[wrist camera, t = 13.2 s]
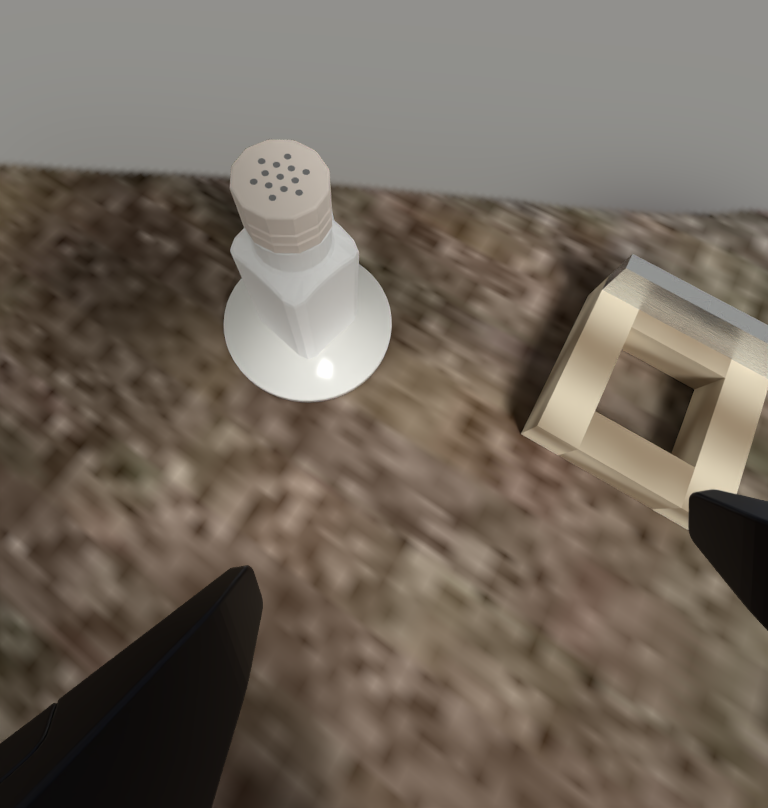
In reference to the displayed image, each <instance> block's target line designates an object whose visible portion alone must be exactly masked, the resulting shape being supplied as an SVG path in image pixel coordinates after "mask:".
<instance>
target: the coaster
mask: <svg viewBox="0 0 768 808" xmlns="http://www.w3.org/2000/svg"><path fill="white" fill-rule="evenodd" d="M391 328H392V317H391V311H390V306H389V303H388V300H387V297H386V295H385V293H384V291H383V289H382V288H381V286H380V284H379V283H378V281H377V280H376V279H375V278H374V277H373V276H372V274H371V273H369V272H368V271H367V270H366V269H365V268H364V267H362V266H361V265H360V264H359V271H358V301H357V315H356V317H355V320H354V321H353V322H352V323H351V324H350V325H349V326H348V327H347V328H346V329H345V330H344V331H342V332H341V333H340V334H339V335H338V336H337V337H336V338H335V339H334V340H333V341H332V342H331V343H330V344H329V345H328V346H326V347H325V348H324V349H323V350H322V351H321V352H320V353H319V354H318V355H317V356H315V357H313V358H311V359H309V360H308V359H306V358H304V357H301V356H299V355H298V354H297V353H296V352H295V351H294V350H292V349H291V348H290V347H289V346H288V345H287V344H286V343H285V342H284V341H283V340H282V339H280V338H279V337H278V336H277V335H276V334H275V333H274V332H273V331H272V330H271V329H269V328H268V327H267V326H266V325H265V324H264V323H263V322H262V321H261V319H260V317H259V315H258V312H257V310H256V308H255V306H254V304H253V301H252V299H251V297H250V295H249V292H248V290H247V288H246V286H245V284H244V281H243V279H242V278H241V279H240V281H239V282H238V283H237V284H236V286H235V288H234V289H233V291H232V293H231V295H230V297H229V300H228V302H227V305H226V309H225V314H224V335H225V340H226V344H227V347H228V350H229V352H230V354H231V356H232V358H233V360H234V362H235V363H236V364H237V366H238V367H239V369H240V370H241V371H242V373H243V374H244V375H245V376H246V377H247V378H248V379H249V380H250V381H251V382H252V383H253V384H255V385H256V386H257V387H259V388H260V389H262V390H264V391H265V392H267V393H269V394H271V395H274V396H276V397H278V398H282V399H285V400H289V401H295V402H321V401H327V400H331V399H335V398H338V397H340V396H343V395H345V394H347V393H349V392H351V391H353V390H355V389H356V388H358V387H359V386H360V385H362V384H363V383H364V382H365V381H366V380H368V379H369V378H370V377H371V376H372V374H373V373H374V372H375V371H376V370H377V368H378V367H379V365H380V364H381V362H382V360H383V358H384V356H385V354H386V351H387V348H388V345H389V341H390V336H391Z"/></svg>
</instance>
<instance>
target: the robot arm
mask: <svg viewBox="0 0 768 808" xmlns="http://www.w3.org/2000/svg"><path fill="white" fill-rule="evenodd" d="M688 528H689V534H690V536H691V538H692V540H693V542H694V543H695V545H696V546H697V547H698V548H699V549H700V551H701V552H702V553H703V554H704V556H705V557H706V558H707V559H708V561H709V562H710V563H711V564H712V566H713V567H714V568H715V569H716V571H717V572H718V573H719V574H720V576H721V577H722V578H723V579H724V581H725V582H726V583H727V584H728V585H729V587H730V588H731V589H732V590H733V592H734V593H735V594H736V595H737V597H738V598H739V599H740V600H741V602H742V603H743V604H744V605H745V606H746V607H747V609H748V610H749V611H750V612H751V613H752V614H753V615H754V616H755V618H756V619H757V620H758V621H759V622H760V623H761V624H762V625H763V626H764V627H765V628H766V629H767V630H768V501H764V500H760V499H755V498H751V497H747V496H742V495H738V494H734V493H729V492H725V491H721V490H716V489H710V490H704V491H698V492H694V493H692V494H691V495H690V497H689V512H688ZM262 609H263V600H262V595H261V592H260V589H259V586H258V583H257V580H256V577H255V574H254V571H253V569H252V568H251V567H250V566H248V565H246V566H240V567H234V568H230V569H229V570H227V571H226V572H225V573H223V574H222V575H221V576H219V577H218V578H217V579H216V580H214V581H213V582H212V583H210V584H209V585H208V586H206V587H205V588H204V589H202V590H201V591H200V592H199V593H197V594H196V595H195V596H193V597H192V598H191V599H189V600H188V601H187V602H185V603H184V604H183V605H182V606H180V607H179V608H178V609H176V610H175V611H174V612H172V613H171V614H170V615H168V616H167V617H166V618H165V619H163V620H162V621H161V622H159V623H158V624H157V625H155V626H154V627H153V628H151V629H150V630H149V631H148V632H146V633H145V634H144V635H142V636H141V637H140V638H138V639H137V640H136V641H134V642H133V643H132V644H131V645H129V646H128V647H127V648H125V649H124V650H123V651H121V652H120V653H119V654H117V655H116V656H115V657H114V658H112V659H111V660H110V661H108V662H107V663H106V664H104V665H103V666H102V667H100V668H99V669H98V670H97V671H95V672H94V673H93V674H91V675H90V676H89V677H87V678H86V679H85V680H83V681H82V682H81V683H80V684H78V685H77V686H76V687H74V688H73V689H72V690H70V691H69V692H68V693H66V694H65V695H64V696H63V697H61V698H60V699H59V700H58V703H57V704H56V703H54V704H52V705H51V706H49V707H48V708H47V709H45V710H44V711H43V712H41V713H40V714H39V715H38V716H36V717H35V718H34V719H32V720H31V721H30V722H28V723H27V724H26V725H24V726H23V727H22V728H20V729H19V730H18V731H16V732H15V733H14V734H12V735H11V736H10V737H8V738H7V739H6V740H4V741H3V742H2V743H0V808H212V804H213V801H214V798H215V794H216V791H217V787H218V784H219V781H220V777H221V774H222V771H223V767H224V764H225V760H226V757H227V754H228V750H229V747H230V744H231V740H232V737H233V734H234V730H235V727H236V723H237V720H238V717H239V713H240V710H241V707H242V703H243V700H244V696H245V693H246V689H247V685H248V681H249V676H250V672H251V667H252V661H253V656H254V651H255V646H256V641H257V635H258V630H259V625H260V620H261V615H262Z"/></svg>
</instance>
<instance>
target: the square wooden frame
mask: <svg viewBox="0 0 768 808" xmlns="http://www.w3.org/2000/svg"><path fill="white" fill-rule="evenodd" d="M621 350H623V351H625V352H627V353H629V354H631V355H632V356H634V357H636V358H638V359H640V360H642V361H643V362H645V363H647V364H649V365H651V366H653V367H654V368H656V369H658V370H660V371H662V372H664V373H665V374H667V375H669V376H671V377H673V378H675V379H676V380H678V381H680V382H682V383H684V384H685V385H687V386H689V387H691V388H693V389H694V392H693V395H692V398H691V401H690V403H689V406H688V409H687V412H686V414H685V417H684V420H683V423H682V426H681V428H680V431H679V434H678V437H677V439H676V442H675V445H674V448H673V451H672V453H671V454H670V453H669V452H667V451H665V450H663V449H662V448H660V447H658V446H656V445H654V444H653V443H651V442H649V441H647V440H646V439H644V438H642V437H640V436H638V435H637V434H635V433H633V432H631V431H630V430H628V429H626V428H624V427H622V426H621V425H619V424H617V423H615V422H614V421H612V420H610V419H608V418H606V417H605V416H603V415H601V414H599V413H597V412H596V411H595V410H596V408H597V405H598V403H599V401H600V398H601V396H602V394H603V391H604V389H605V387H606V385H607V382H608V380H609V378H610V375H611V373H612V371H613V368H614V366H615V364H616V362H617V359H618V357H619V355H620V352H621ZM767 390H768V325H766V324H765V323H763V322H761V321H759V320H757V319H755V318H753V317H751V316H749V315H747V314H746V313H744V312H742V311H740V310H738V309H736V308H734V307H732V306H730V305H729V304H727V303H725V302H723V301H721V300H719V299H717V298H715V297H713V296H711V295H710V294H708V293H706V292H704V291H702V290H700V289H698V288H696V287H694V286H693V285H691V284H689V283H687V282H685V281H683V280H681V279H679V278H677V277H675V276H674V275H672V274H670V273H668V272H666V271H664V270H662V269H660V268H658V267H657V266H655V265H653V264H651V263H649V262H647V261H645V260H643V259H641V258H639V257H638V256H636V255H634V254H632V255H631V256H630V257H629V258H628V259H627V260H625V261H624V262H623V263H622V264H621V265H620V266H619V267H618V268H617V269H616V270H615V271H614V272H613V273H612V274H611V275H609V276H608V277H607V278H606V279H605V280H604V281H603V282H602V283H601V284H600V285H599V286H598V287H597V288H596V289H595V290H593V291H592V292H591V293H590V294H589V295H588V297H587V299H586V301H585V303H584V305H583V307H582V309H581V311H580V313H579V315H578V318H577V320H576V322H575V324H574V326H573V328H572V330H571V332H570V334H569V336H568V338H567V340H566V342H565V344H564V346H563V348H562V350H561V352H560V354H559V357H558V359H557V361H556V363H555V365H554V367H553V369H552V371H551V373H550V375H549V377H548V379H547V381H546V383H545V385H544V387H543V389H542V391H541V393H540V396H539V398H538V400H537V402H536V404H535V406H534V408H533V410H532V412H531V414H530V416H529V418H528V420H527V422H526V424H525V426H524V428H523V430H522V433H521V434H522V435H524V436H525V437H527V438H529V439H531V440H532V441H534V442H536V443H538V444H539V445H541V446H543V447H544V448H546V449H548V450H550V451H551V452H553V453H555V454H557V455H558V456H560V457H562V458H564V459H565V460H567V461H569V462H571V463H572V464H574V465H576V466H578V467H579V468H581V469H583V470H584V471H586V472H588V473H590V474H591V475H593V476H595V477H597V478H598V479H600V480H602V481H604V482H605V483H607V484H609V485H611V486H612V487H614V488H616V489H617V490H619V491H621V492H623V493H624V494H626V495H628V496H630V497H631V498H633V499H635V500H637V501H638V502H640V503H642V504H644V505H645V506H647V507H649V508H651V509H652V510H654V511H656V512H657V513H659V514H661V515H663V516H664V517H666V518H668V519H670V520H671V521H673V522H675V523H677V524H678V525H680V526H682V527H684V528H685V529H687V530H689V528H688V512H689V497H690V495H691V494H692V493H694V492H698V491H704V490H710V489H716V490H721V491H725V492H729V493H734V494H737V491H738V487H739V484H740V481H741V477H742V474H743V471H744V467H745V464H746V461H747V457H748V454H749V450H750V447H751V444H752V440H753V437H754V434H755V430H756V427H757V424H758V420H759V417H760V414H761V410H762V407H763V403H764V400H765V397H766V393H767Z"/></svg>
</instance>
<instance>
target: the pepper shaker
mask: <svg viewBox="0 0 768 808" xmlns="http://www.w3.org/2000/svg"><path fill="white" fill-rule="evenodd" d="M230 191H231V193H232V196H233V199H234V202H235V204H236V206H237V210H238V213H239V215H240V218H241V221H242V224H243V226H244V229H243V230H242V231H241V232H240V233H239V234H238V235H237V236H236V237H235V238H234V241H233V243H232V246H231V249H230V252H231V254H232V257H233V259H234V261H235V264H236V266H237V268H238V270H239V272H240V275H241V277H242V279H243V281H244V284H245V286H246V288H247V290H248V292H249V295H250V297H251V299H252V301H253V304H254V306H255V308H256V310H257V312H258V315H259V317H260V319H261V321H262V322H263V323H264V324H265V325H266V326H267V327H268V328H269V329H271V330H272V331H273V332H274V333H275V334H276V335H277V336H278V337H279V338H280V339H282V340H283V341H284V342H285V343H286V344H287V345H288V346H289V347H290V348H291V349H292V350H294V351H295V352H296V353H297V354H298V355H299V356H301V357H304V358H306V359H308V360H309V359H311V358H313V357H315V356H317V355H318V354H319V353H320V352H321V351H322V350H323V349H324V348H325V347H326V346H328V345H329V344H330V343H331V342H332V341H333V340H334V339H335V338H336V337H337V336H338V335H339V334H340V333H341V332H342V331H344V330H345V329H346V328H347V327H348V326H349V325H350V324H351V323H352V322H353V321H354V320H355V317H356V315H357V301H358V271H359V251H358V249H357V246H356V244H355V241H354V240H353V239H352V237H351V236H350V235H349V234H348V233H347V232H346V231H345V230H344V229H343V228H342V227H341V226H340V225H339V224H338V223H337V222H335V221H334V217H333V212H332V201H331V184H330V170H329V168H328V167H327V165H326V164H325V163H324V161H323V160H322V158H321V157H320V156H319V154H318V153H317V152H316V151H315V150H313V149H311V148H309V147H307V146H305V145H303V144H301V143H299V142H297V141H295V140H277V139H268V140H265V141H263V142H261V143H258V144H256V145H253V146H251V147H248V148H246V149H245V150H244V151H243V152H242V154H241V155H240V156H239V157H238V159H237V160H236V161H235V162H234V163H233V164H232V166H231V176H230Z"/></svg>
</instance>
